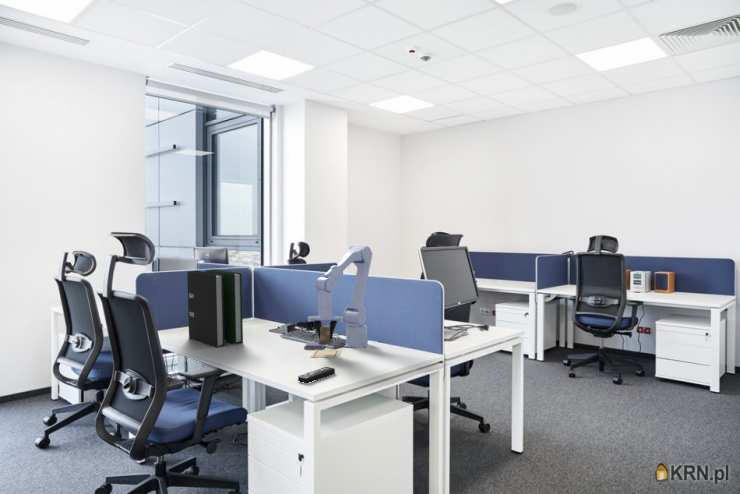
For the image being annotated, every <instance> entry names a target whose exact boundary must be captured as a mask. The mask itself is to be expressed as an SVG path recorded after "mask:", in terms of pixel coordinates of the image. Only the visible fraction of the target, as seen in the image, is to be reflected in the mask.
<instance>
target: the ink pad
mask: <svg viewBox="0 0 740 494" xmlns="http://www.w3.org/2000/svg"><path fill="white" fill-rule="evenodd" d="M303 349H304V350H324V349H325V347H324V345H319V342H307V343H306V344H305V346H304V348H303Z"/></svg>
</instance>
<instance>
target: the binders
mask: <svg viewBox="0 0 740 494" xmlns="http://www.w3.org/2000/svg"><path fill="white" fill-rule="evenodd" d="M186 273H187V275H186V276H187V306H188V307H187V312H188V315H187V318H188V338H189V340H193V341H196V342H198V343H202V344H203V345H204V344H205V345H207V346H210V347H213V348H216V349H218V347H219V346H221V347H225V346H226V344H225V343H229V344H232V345H237V343H240V344H243V343H244V335H243V334H244V332H243V331H244V329H243V326H244V325H243V324H244V323H243V282H242V281H243V280H242V277H243V275H242V272H234V271H228V270H220V269H205V271H201V270H193V271H192V270H189V271H187V272H186Z"/></svg>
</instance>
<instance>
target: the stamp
mask: <svg viewBox="0 0 740 494" xmlns="http://www.w3.org/2000/svg"><path fill="white" fill-rule="evenodd" d="M333 339H334V338H332V339H330V324H329V325H322V324H321V327H320V339H319V340H318V343H319V345H325V346H326V345H330V346H331V345H332V344H333Z"/></svg>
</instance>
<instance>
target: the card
mask: <svg viewBox="0 0 740 494" xmlns="http://www.w3.org/2000/svg"><path fill="white" fill-rule="evenodd" d="M341 352H342V351H341V349H314V351H313V352H312V354H311V355H310V358H339V357H338V356H339V355H340V353H341Z"/></svg>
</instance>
